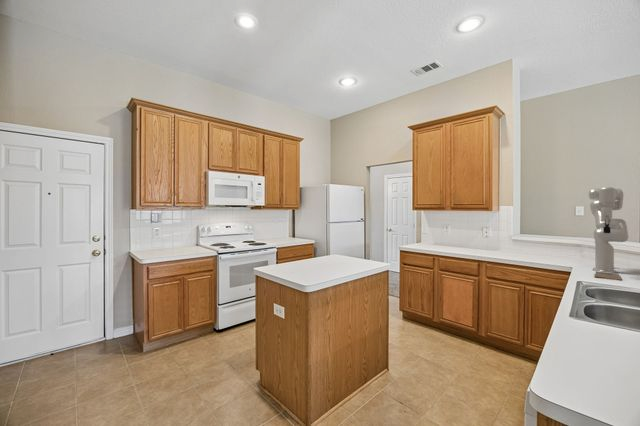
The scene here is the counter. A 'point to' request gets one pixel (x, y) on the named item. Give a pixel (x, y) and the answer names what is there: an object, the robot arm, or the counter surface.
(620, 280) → the hinge base
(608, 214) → the robot arm
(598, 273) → the hinge leaf
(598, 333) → the counter surface
